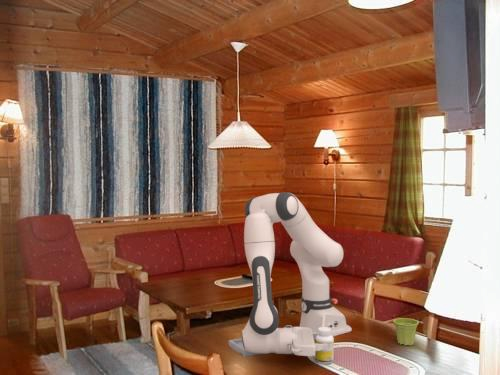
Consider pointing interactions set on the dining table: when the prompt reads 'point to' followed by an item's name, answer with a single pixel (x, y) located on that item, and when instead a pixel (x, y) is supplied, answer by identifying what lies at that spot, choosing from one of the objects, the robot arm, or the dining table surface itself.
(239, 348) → the dish
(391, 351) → the dining table surface
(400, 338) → the plant pot
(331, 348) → the pill bottle
